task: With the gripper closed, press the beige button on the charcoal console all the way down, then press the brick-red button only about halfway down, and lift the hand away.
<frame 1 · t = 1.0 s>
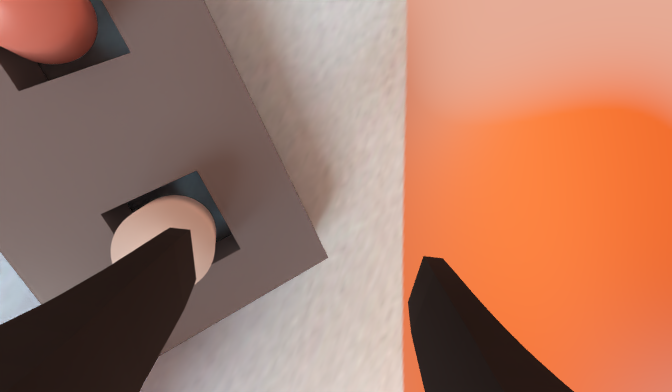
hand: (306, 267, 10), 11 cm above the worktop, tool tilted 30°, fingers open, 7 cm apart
console: (137, 138, 18), on the worktop
beige button: (170, 240, 14), point 5 cm above the worktop, slide at 0.0 cm
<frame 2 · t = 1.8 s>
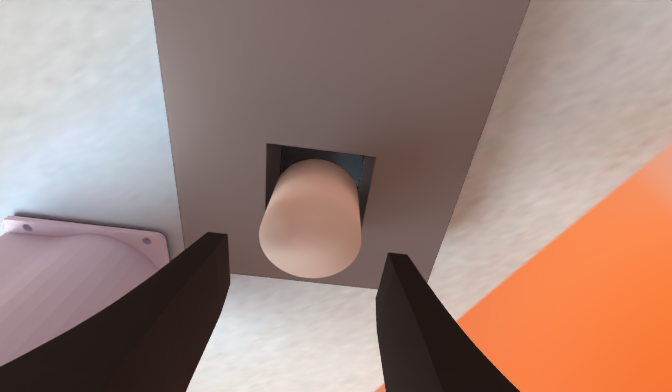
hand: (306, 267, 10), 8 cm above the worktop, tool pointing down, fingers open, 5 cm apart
console: (333, 60, 15), on the worktop
beige button: (313, 216, 13), point 6 cm above the worktop, slide at 0.0 cm
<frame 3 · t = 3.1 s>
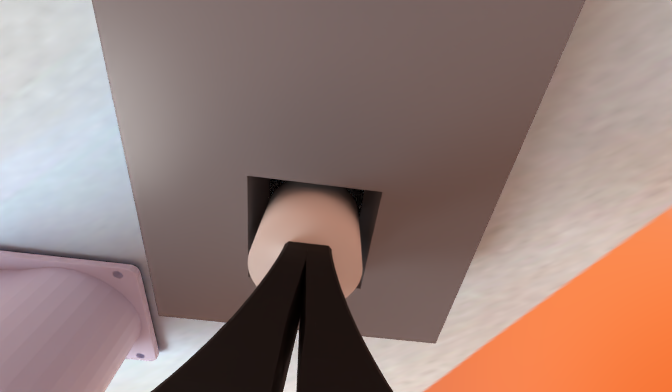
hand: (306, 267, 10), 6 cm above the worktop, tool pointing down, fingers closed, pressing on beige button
console: (330, 72, 13), on the worktop
beige button: (309, 239, 12), point 4 cm above the worktop, slide at 1.4 cm, touching gripper
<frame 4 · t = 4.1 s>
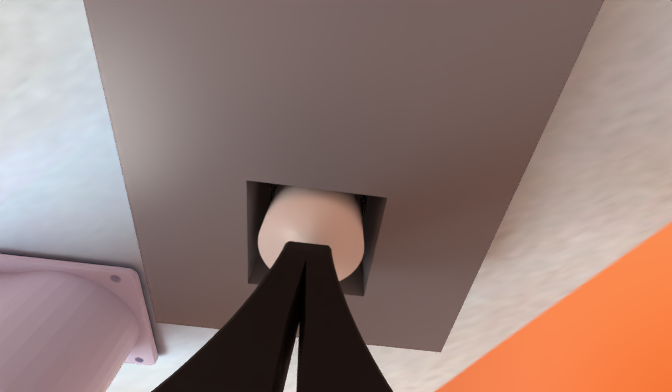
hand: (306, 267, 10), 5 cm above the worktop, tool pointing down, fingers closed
console: (333, 72, 12), on the worktop
beige button: (314, 222, 12), point 3 cm above the worktop, slide at 2.8 cm
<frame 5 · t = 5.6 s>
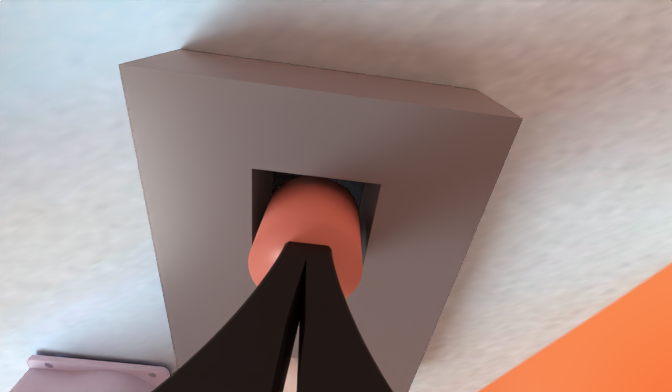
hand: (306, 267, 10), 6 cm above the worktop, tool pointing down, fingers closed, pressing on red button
red button: (309, 239, 12), point 5 cm above the worktop, slide at 0.9 cm, touching gripper
console: (309, 259, 18), on the worktop
beige button: (297, 359, 18), point 3 cm above the worktop, slide at 2.8 cm
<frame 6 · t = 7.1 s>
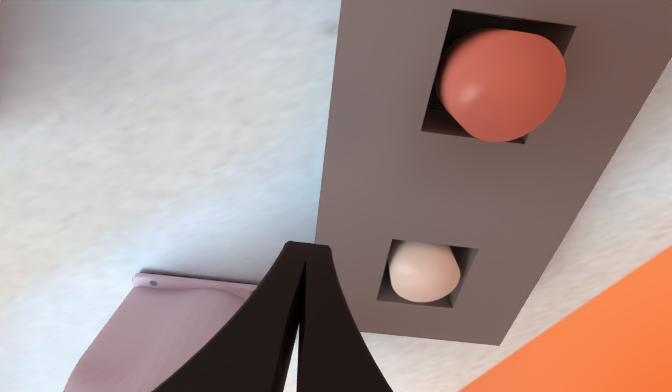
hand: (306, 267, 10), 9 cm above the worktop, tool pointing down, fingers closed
red button: (491, 82, 12), point 4 cm above the worktop, slide at 1.5 cm
console: (432, 159, 18), on the worktop
beige button: (419, 259, 19), point 3 cm above the worktop, slide at 2.8 cm
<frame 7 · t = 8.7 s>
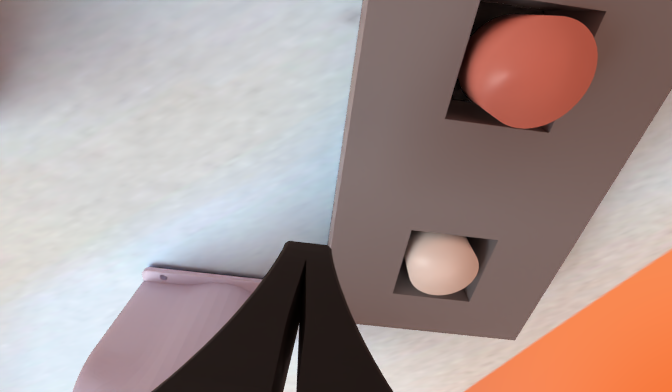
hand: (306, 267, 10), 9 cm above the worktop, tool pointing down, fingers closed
red button: (518, 69, 12), point 4 cm above the worktop, slide at 1.5 cm
console: (449, 151, 18), on the worktop
beige button: (436, 252, 18), point 3 cm above the worktop, slide at 2.8 cm
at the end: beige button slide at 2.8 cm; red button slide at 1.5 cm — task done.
